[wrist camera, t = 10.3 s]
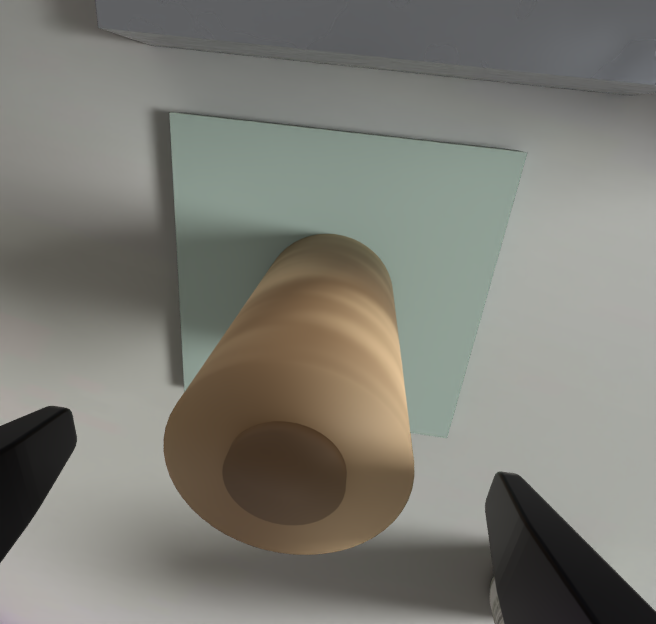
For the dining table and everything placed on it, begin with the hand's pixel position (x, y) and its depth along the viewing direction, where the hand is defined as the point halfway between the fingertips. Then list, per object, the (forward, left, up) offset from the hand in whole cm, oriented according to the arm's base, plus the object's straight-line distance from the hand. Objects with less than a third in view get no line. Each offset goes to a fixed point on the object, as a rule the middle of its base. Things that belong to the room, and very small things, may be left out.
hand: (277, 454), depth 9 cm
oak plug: (0, 0, -8) cm, 9 cm away
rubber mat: (0, 0, -10) cm, 10 cm away
